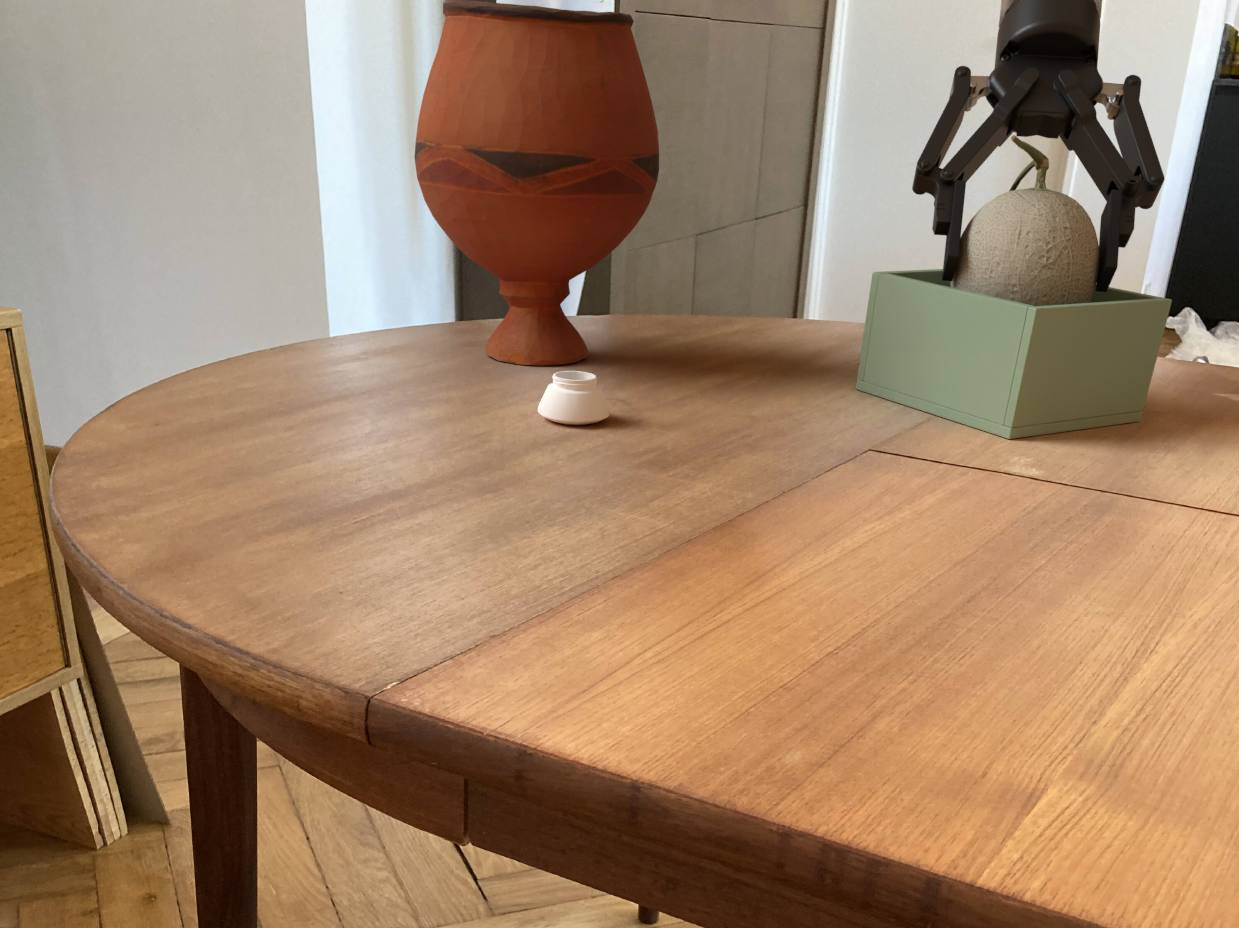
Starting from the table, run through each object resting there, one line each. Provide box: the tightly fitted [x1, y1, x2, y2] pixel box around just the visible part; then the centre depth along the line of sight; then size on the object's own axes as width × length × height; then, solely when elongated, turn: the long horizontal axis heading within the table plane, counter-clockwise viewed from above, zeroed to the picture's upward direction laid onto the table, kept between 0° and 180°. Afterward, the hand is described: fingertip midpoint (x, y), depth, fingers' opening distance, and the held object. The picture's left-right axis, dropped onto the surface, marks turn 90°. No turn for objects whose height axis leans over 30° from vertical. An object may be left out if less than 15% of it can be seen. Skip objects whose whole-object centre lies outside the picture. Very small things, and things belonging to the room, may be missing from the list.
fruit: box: [951, 134, 1099, 306], centre depth 93 cm, size 10×12×15 cm
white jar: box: [537, 370, 610, 426], centre depth 88 cm, size 5×3×5 cm
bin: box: [855, 268, 1173, 440], centre depth 97 cm, size 17×15×9 cm
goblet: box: [414, 0, 660, 367], centre depth 100 cm, size 19×19×25 cm
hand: (1027, 274), depth 91 cm, fingers closed on fruit, 10 cm apart
